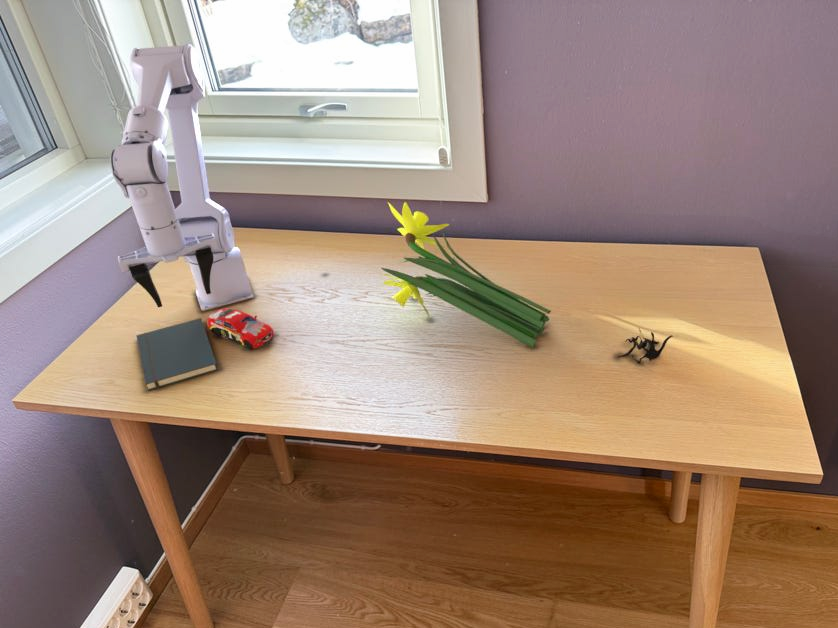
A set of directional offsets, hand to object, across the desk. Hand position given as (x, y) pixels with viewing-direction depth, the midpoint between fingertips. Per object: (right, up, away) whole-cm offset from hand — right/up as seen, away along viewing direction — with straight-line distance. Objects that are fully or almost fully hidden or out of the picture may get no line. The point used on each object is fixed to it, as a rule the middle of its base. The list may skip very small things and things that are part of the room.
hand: (183, 297), depth 124 cm
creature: (+74, -10, -2) cm, 74 cm away
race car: (+7, -6, +9) cm, 13 cm away
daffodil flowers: (+46, -2, +10) cm, 47 cm away
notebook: (-3, -9, +5) cm, 11 cm away
